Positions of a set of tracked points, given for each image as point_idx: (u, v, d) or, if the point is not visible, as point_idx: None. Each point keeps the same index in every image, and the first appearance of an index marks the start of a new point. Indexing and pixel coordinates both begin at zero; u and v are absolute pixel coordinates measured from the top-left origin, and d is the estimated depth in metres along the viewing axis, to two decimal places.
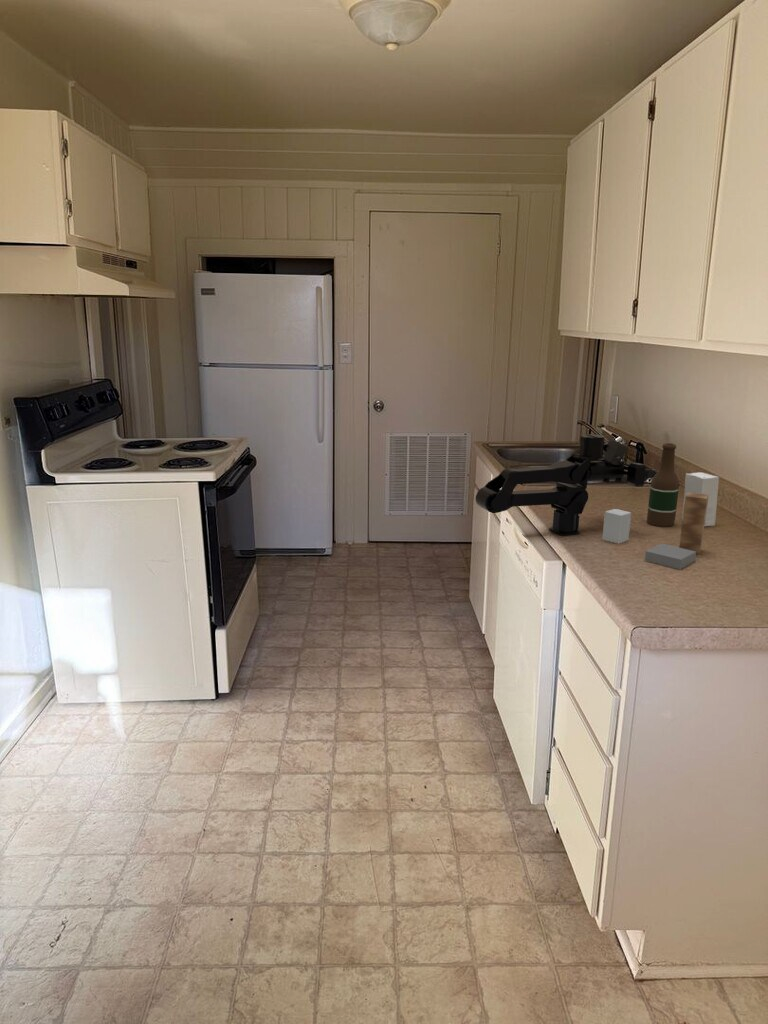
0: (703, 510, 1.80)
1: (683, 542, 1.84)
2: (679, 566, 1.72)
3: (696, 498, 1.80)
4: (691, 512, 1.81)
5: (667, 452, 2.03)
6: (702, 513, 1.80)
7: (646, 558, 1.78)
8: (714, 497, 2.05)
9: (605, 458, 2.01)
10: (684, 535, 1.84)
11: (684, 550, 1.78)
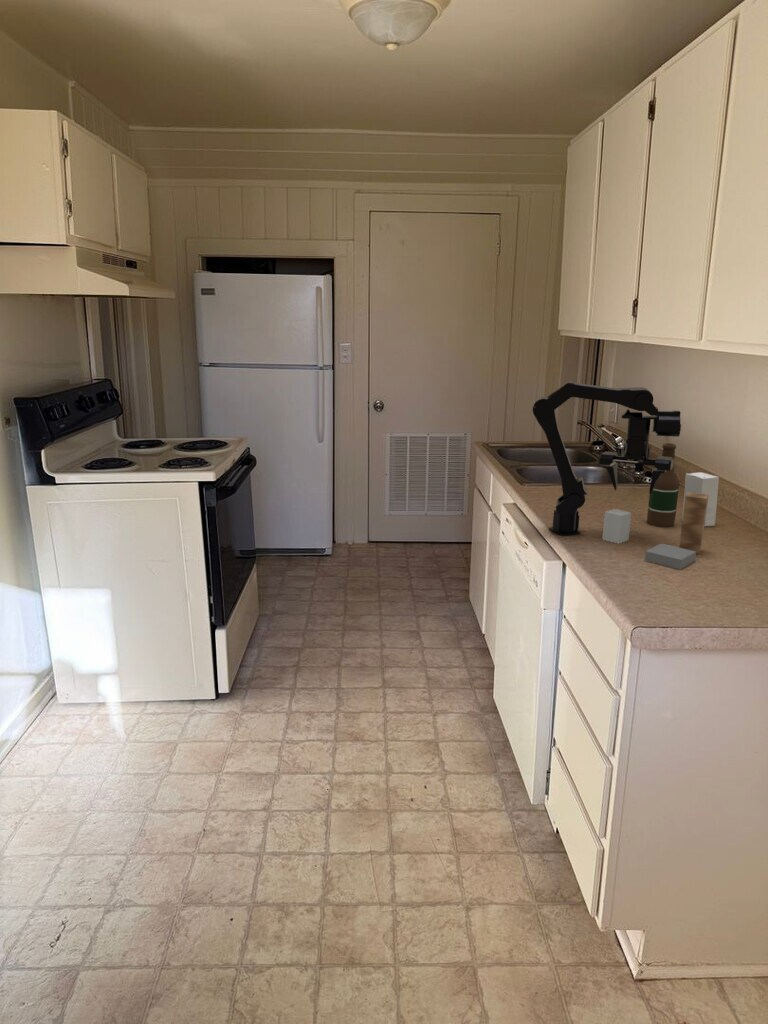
0: (703, 510, 1.80)
1: (683, 542, 1.84)
2: (679, 566, 1.72)
3: (696, 498, 1.80)
4: (691, 512, 1.81)
5: (667, 452, 2.03)
6: (702, 513, 1.80)
7: (646, 558, 1.78)
8: (714, 497, 2.05)
9: None
10: (684, 535, 1.84)
11: (684, 550, 1.78)
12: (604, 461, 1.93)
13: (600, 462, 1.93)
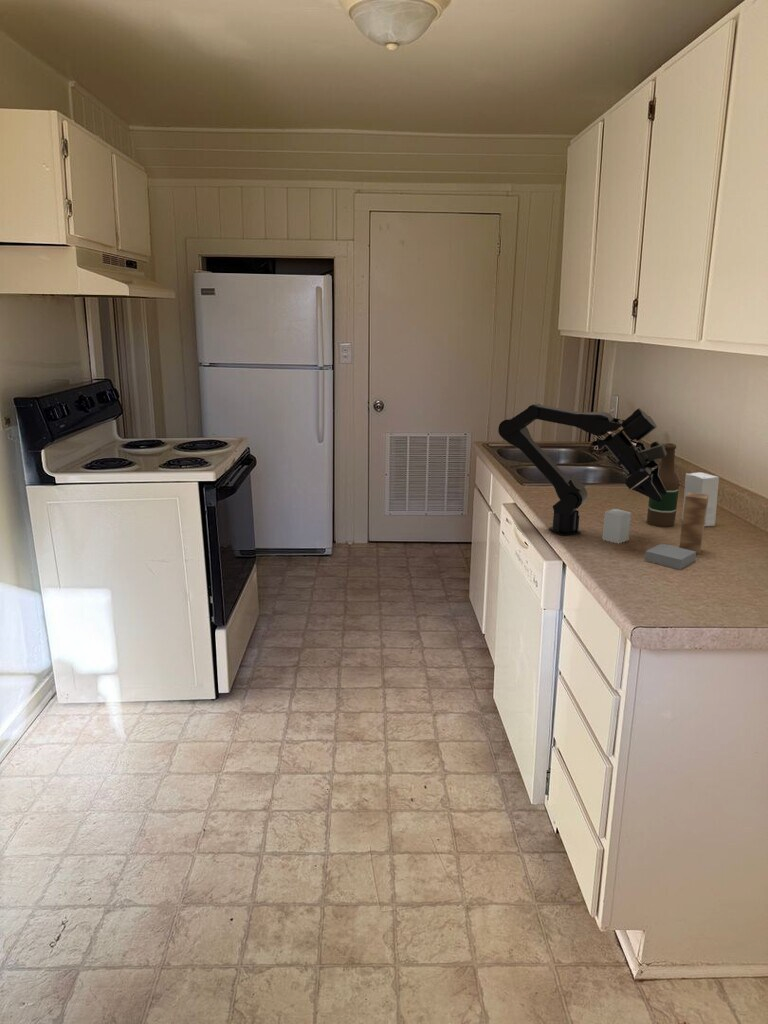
0: (703, 510, 1.80)
1: (683, 542, 1.84)
2: (679, 566, 1.72)
3: (696, 498, 1.80)
4: (691, 512, 1.81)
5: (667, 452, 2.03)
6: (702, 513, 1.80)
7: (646, 558, 1.78)
8: (714, 497, 2.05)
9: (642, 450, 1.87)
10: (684, 535, 1.84)
11: (684, 550, 1.78)
12: None
13: None
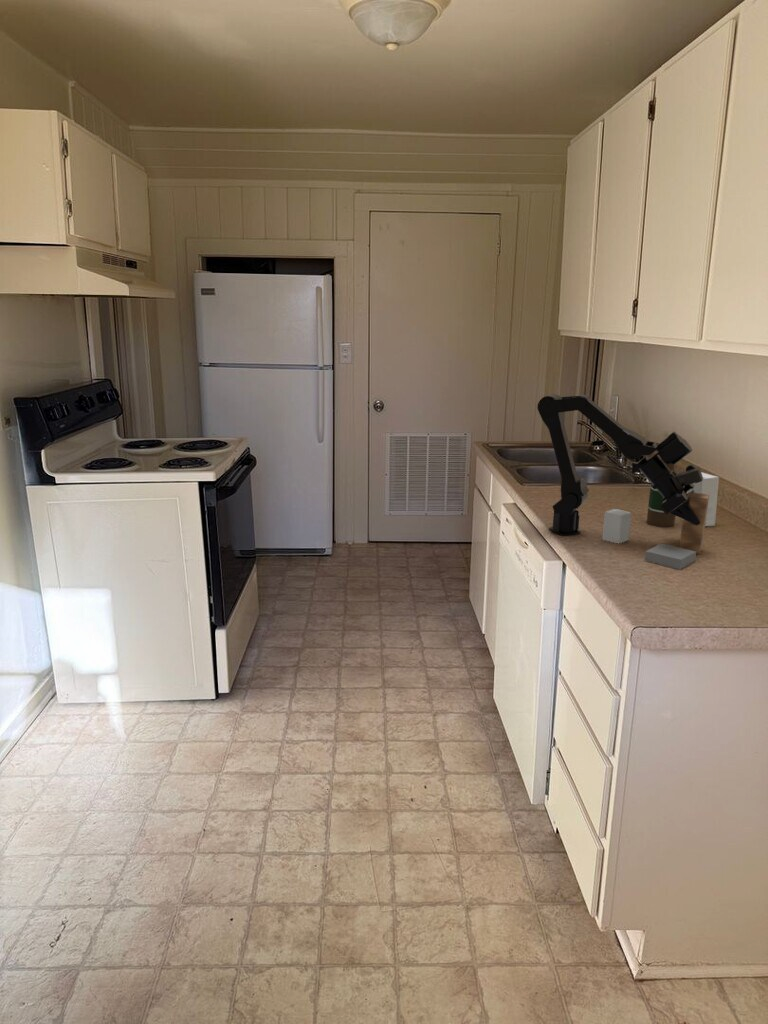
0: (704, 510, 1.80)
1: (683, 542, 1.84)
2: (679, 566, 1.72)
3: (697, 498, 1.80)
4: None
5: None
6: (703, 513, 1.80)
7: (646, 558, 1.78)
8: (714, 497, 2.05)
9: (677, 474, 1.84)
10: (684, 535, 1.84)
11: (684, 550, 1.78)
12: None
13: None
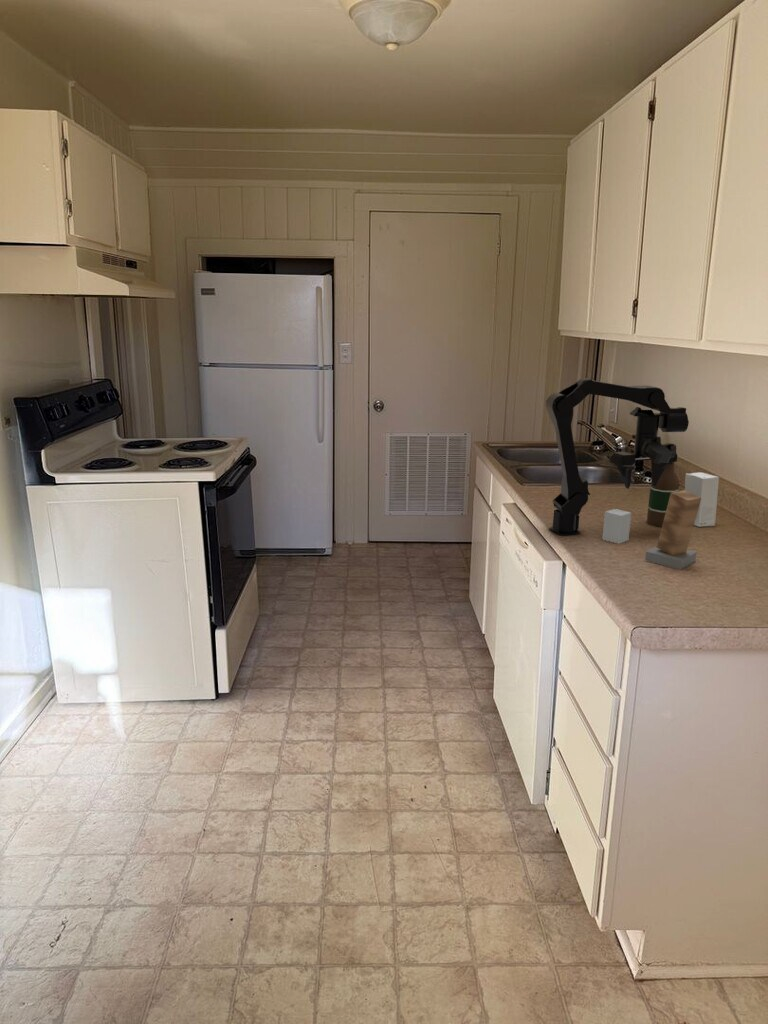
0: (683, 511, 1.70)
1: (661, 539, 1.76)
2: (679, 567, 1.72)
3: (679, 497, 1.70)
4: (672, 511, 1.72)
5: None
6: (681, 514, 1.70)
7: (646, 558, 1.78)
8: (714, 497, 2.05)
9: (657, 443, 1.93)
10: (663, 532, 1.76)
11: None
12: None
13: None
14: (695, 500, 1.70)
